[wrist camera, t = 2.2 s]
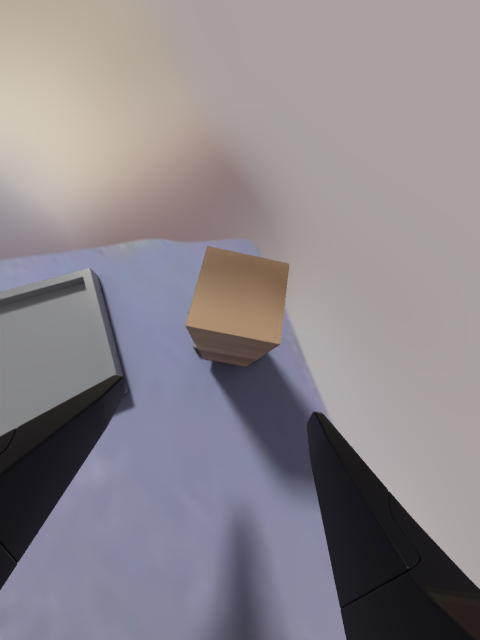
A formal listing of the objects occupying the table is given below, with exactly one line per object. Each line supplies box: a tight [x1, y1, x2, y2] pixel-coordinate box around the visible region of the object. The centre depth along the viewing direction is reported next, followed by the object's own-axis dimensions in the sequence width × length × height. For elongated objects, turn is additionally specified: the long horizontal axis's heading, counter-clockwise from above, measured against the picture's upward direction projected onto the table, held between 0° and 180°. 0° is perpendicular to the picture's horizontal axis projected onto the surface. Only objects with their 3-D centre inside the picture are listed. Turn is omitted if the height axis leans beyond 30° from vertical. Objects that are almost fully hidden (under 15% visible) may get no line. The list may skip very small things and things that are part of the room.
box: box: [0, 268, 128, 436], centre depth 19 cm, size 14×14×2 cm
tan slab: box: [185, 246, 289, 367], centre depth 16 cm, size 4×7×13 cm, turn 80°
